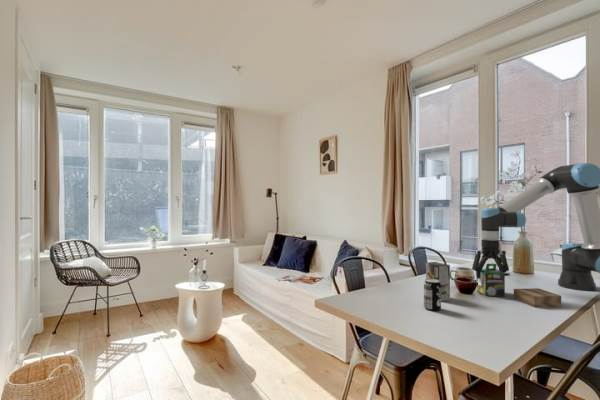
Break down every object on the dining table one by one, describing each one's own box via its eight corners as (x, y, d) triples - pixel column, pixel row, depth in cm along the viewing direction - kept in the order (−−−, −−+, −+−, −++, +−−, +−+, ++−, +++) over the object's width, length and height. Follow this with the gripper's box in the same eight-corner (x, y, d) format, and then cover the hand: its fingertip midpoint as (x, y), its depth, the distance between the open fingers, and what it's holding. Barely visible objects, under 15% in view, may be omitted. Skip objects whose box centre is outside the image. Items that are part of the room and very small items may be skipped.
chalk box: (495, 291, 158) (495, 261, 158) (505, 296, 149) (505, 265, 149) (476, 290, 159) (476, 261, 159) (485, 296, 150) (485, 264, 150)
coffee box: (450, 300, 144) (450, 265, 144) (439, 301, 142) (439, 265, 142) (436, 294, 152) (436, 261, 152) (425, 295, 150) (425, 262, 150)
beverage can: (440, 307, 134) (440, 279, 134) (441, 312, 128) (441, 282, 128) (423, 305, 136) (423, 277, 136) (424, 310, 130) (424, 281, 130)
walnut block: (538, 299, 147) (538, 288, 147) (561, 307, 135) (561, 295, 135) (513, 299, 146) (513, 288, 146) (534, 308, 134) (534, 296, 134)
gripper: (507, 238, 158) (507, 283, 158) (463, 238, 158) (463, 283, 158) (518, 240, 151) (518, 287, 150) (472, 240, 151) (472, 287, 150)
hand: (490, 285), depth 154 cm, fingers closed on chalk box, 9 cm apart
